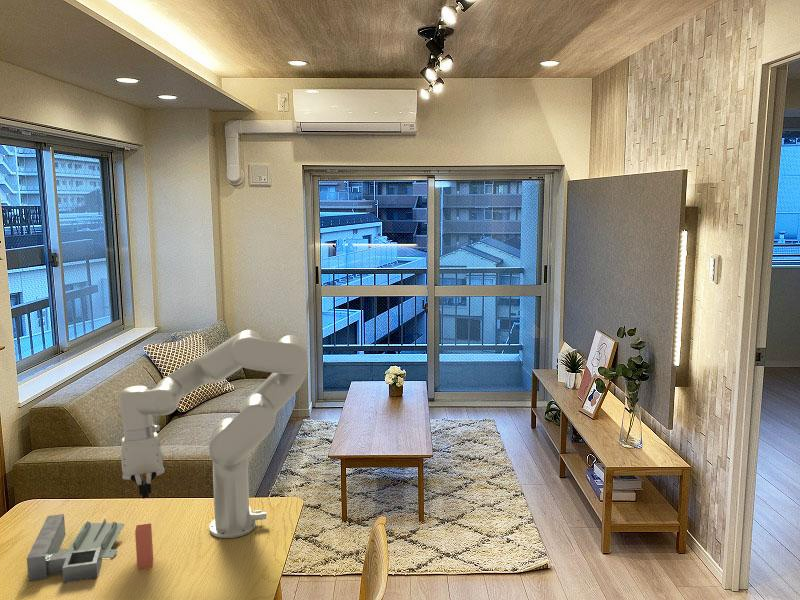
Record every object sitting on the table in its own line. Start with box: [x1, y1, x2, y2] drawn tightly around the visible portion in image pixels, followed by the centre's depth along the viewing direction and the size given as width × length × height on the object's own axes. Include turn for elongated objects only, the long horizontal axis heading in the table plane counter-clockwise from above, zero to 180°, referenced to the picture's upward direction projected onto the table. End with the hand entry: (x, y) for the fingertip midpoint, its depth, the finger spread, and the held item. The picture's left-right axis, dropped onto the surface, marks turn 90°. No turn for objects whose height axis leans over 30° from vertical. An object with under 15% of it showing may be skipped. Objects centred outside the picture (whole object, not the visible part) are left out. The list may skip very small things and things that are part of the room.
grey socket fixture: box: [26, 513, 103, 584], centre depth 168 cm, size 16×25×6 cm, turn 17°
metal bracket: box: [58, 518, 125, 559], centre depth 173 cm, size 14×6×15 cm
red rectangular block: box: [134, 523, 154, 570], centre depth 164 cm, size 4×4×10 cm
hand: (146, 496), depth 177 cm, fingers closed
